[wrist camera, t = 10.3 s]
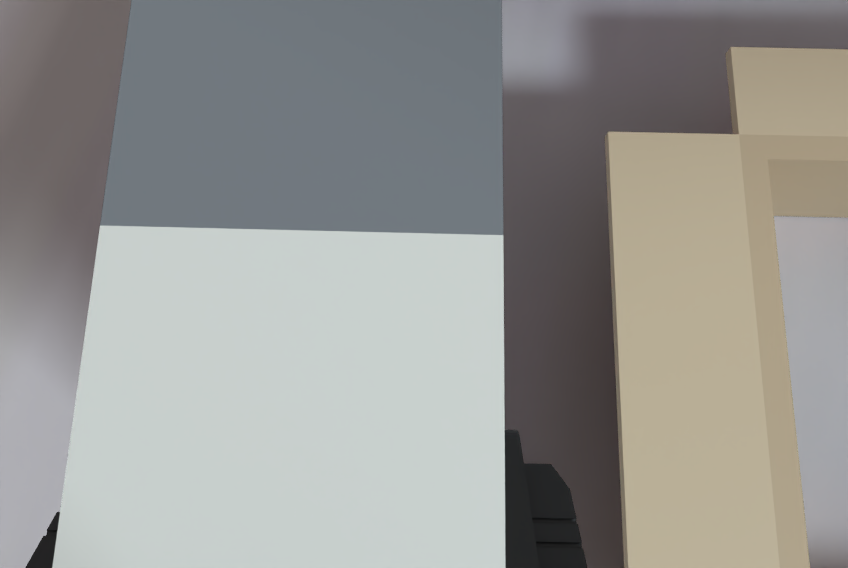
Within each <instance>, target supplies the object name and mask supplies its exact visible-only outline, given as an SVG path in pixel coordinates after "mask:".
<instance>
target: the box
mask: <svg viewBox="0 0 848 568" xmlns="http://www.w3.org/2000/svg"><path fill="white" fill-rule="evenodd" d="M52 568H506V567H505V412H504V258H503V103H502V0H132V1H131V8H130V15H129V22H128V30H127V37H126V44H125V51H124V58H123V65H122V73H121V80H120V87H119V94H118V101H117V108H116V115H115V123H114V130H113V137H112V144H111V151H110V158H109V165H108V173H107V180H106V187H105V194H104V201H103V208H102V216H101V223H100V230H99V237H98V244H97V251H96V258H95V266H94V273H93V280H92V287H91V294H90V301H89V309H88V316H87V323H86V330H85V337H84V344H83V351H82V359H81V366H80V373H79V380H78V387H77V394H76V402H75V409H74V416H73V423H72V430H71V437H70V444H69V452H68V459H67V466H66V473H65V480H64V487H63V494H62V502H61V509H60V516H59V523H58V530H57V537H56V545H55V552H54V559H53V566H52Z"/></svg>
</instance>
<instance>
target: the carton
mask: <svg viewBox="0 0 848 568" xmlns="http://www.w3.org/2000/svg"><path fill="white" fill-rule="evenodd" d="M726 65H727V76H728V87H729V98H730V109H731V120H732V131H733V134H699V133H651V132H608V133H607V134H606V136H605V153H606V175H607V198H608V220H609V242H610V264H611V286H612V309H613V331H614V353H615V375H616V397H617V420H618V442H619V464H620V486H621V508H622V531H623V553H624V568H810V562H809V553H808V543H807V533H806V524H805V514H804V504H803V495H802V485H801V476H800V466H799V456H798V447H797V437H796V427H795V418H794V408H793V398H792V389H791V379H790V370H789V360H788V350H787V341H786V331H785V321H784V312H783V302H782V292H781V283H780V273H779V264H778V254H777V244H776V235H775V225H774V216H802V217H848V49H809V48H762V47H730V48H729V50H728V51H727V52H726Z"/></svg>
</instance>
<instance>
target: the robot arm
mask: <svg viewBox="0 0 848 568" xmlns="http://www.w3.org/2000/svg"><path fill="white" fill-rule="evenodd" d="M59 516H60V512H57V513H56V515H55V517H54V519H53V520H52V522H51V524H50V526H49V527H48V529H47V535H46V536H43V538H42V540H41V541H40V543H39V545H38V547H37V548H36V550H35V552H34V554H33V555H32V557H31V559H30V561H29V562H28V564H27V566H26V568H52V566H53V559H54V552H55V545H56V537H57V530H58V523H59ZM581 543H582V542H581V538H580V533H579V529H578V524H576V515H575V511H574V506H573V502H572V497H571V493H570V489H569V488H568V486H567V485H566V484H565V482H564V481H563V480H562V478H561V477H560V476H559V474H558V473H557V471H556V470H555V469H554V467H553V466H552V465H551V464H524V462H523V456H522V450H521V443H520V437H519V433H518V431H517V430H505V567H506V568H587V565H586V560H585V556H584V551H583V549H582V546H581Z"/></svg>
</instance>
